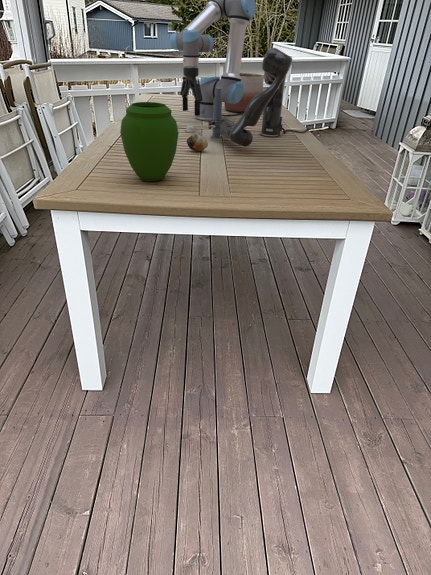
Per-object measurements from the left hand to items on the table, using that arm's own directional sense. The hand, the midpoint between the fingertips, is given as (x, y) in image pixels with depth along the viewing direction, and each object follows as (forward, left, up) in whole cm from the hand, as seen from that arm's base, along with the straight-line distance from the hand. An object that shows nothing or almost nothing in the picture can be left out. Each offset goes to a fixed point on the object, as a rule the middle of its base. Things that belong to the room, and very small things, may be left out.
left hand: (191, 113), depth 213 cm
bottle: (-8, +16, -9) cm, 20 cm away
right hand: (-8, +13, -2) cm, 16 cm away
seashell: (+11, +41, -9) cm, 44 cm away
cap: (+1, 0, -7) cm, 7 cm away
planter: (-58, -57, -9) cm, 82 cm away
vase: (+41, +74, -9) cm, 85 cm away
